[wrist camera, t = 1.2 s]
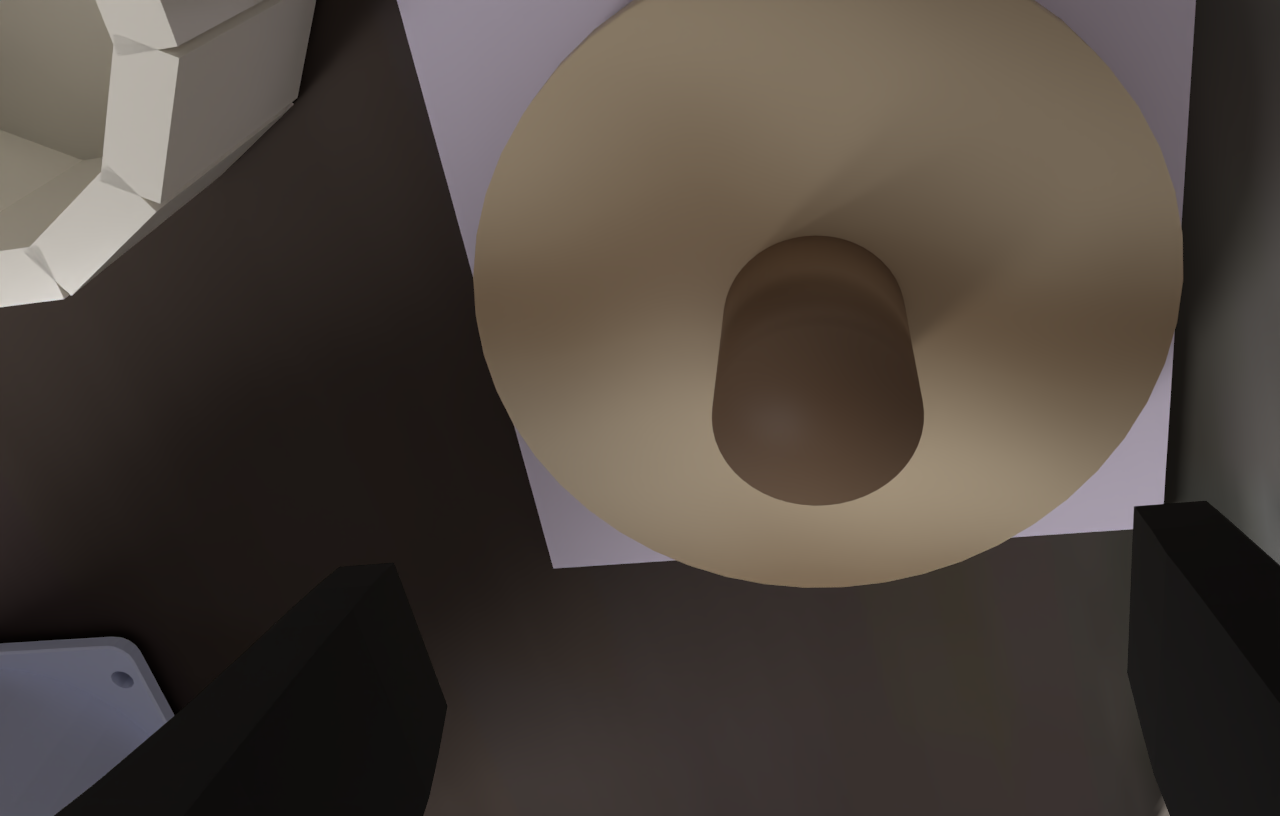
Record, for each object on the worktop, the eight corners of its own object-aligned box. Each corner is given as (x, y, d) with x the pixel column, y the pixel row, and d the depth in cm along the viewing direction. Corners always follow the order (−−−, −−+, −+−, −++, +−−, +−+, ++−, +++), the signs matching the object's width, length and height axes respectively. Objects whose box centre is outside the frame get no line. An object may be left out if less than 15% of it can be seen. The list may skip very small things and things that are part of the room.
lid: (1139, 511, 21) (1219, 695, 17) (567, 551, 23) (521, 724, 19) (1173, -132, 15) (1302, -80, 11) (422, -4, 17) (314, 78, 14)
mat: (1155, 513, 21) (1162, 526, 21) (556, 555, 23) (553, 568, 23) (1198, -174, 15) (1207, -171, 15) (397, -31, 18) (389, -26, 17)
